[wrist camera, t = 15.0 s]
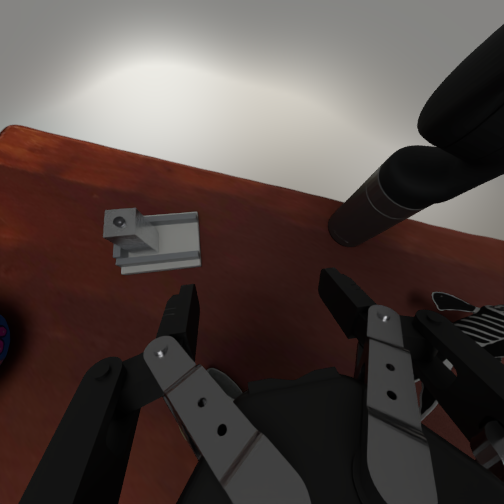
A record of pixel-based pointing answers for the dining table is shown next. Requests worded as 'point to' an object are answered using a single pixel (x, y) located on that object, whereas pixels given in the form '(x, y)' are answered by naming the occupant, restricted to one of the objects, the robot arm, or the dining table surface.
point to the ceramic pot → (4, 338)
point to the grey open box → (166, 246)
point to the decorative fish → (476, 327)
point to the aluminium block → (131, 231)
